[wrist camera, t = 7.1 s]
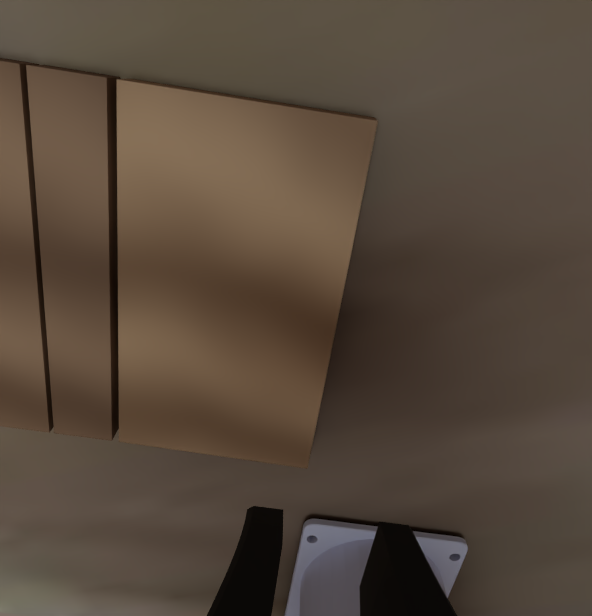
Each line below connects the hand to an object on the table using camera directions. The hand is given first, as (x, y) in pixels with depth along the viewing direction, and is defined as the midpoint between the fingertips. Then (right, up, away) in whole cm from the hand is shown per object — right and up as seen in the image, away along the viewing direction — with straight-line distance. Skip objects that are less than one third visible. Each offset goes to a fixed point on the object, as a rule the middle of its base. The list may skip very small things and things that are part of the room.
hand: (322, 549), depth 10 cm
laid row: (-10, +7, +9) cm, 15 cm away
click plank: (-3, +6, +9) cm, 11 cm away
